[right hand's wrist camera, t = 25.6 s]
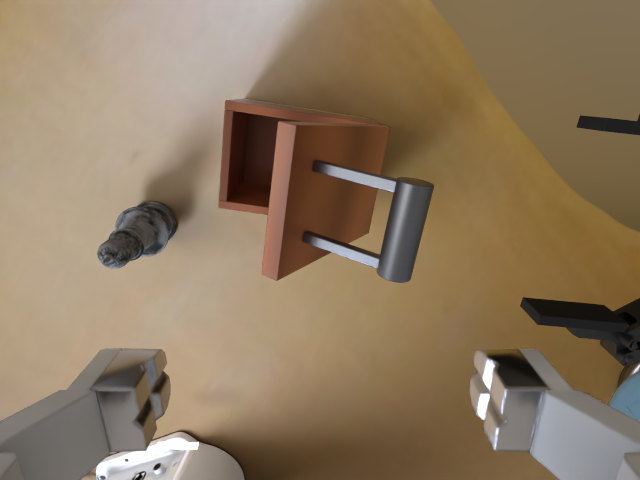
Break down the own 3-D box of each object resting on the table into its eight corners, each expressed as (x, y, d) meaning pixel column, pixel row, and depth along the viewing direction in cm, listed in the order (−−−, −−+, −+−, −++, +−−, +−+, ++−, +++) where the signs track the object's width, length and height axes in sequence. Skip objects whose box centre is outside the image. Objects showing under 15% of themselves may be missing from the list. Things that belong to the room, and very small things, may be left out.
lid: (261, 274, 26) (386, 327, 22) (277, 121, 23) (428, 152, 19) (356, 228, 38) (448, 258, 34) (376, 124, 35) (480, 143, 31)
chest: (237, 186, 47) (218, 208, 38) (244, 98, 43) (224, 100, 35) (354, 203, 48) (362, 228, 39) (370, 118, 44) (382, 124, 35)
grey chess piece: (136, 190, 47) (78, 222, 36) (185, 210, 48) (143, 247, 36) (123, 234, 49) (64, 277, 37) (170, 252, 50) (126, 300, 38)
